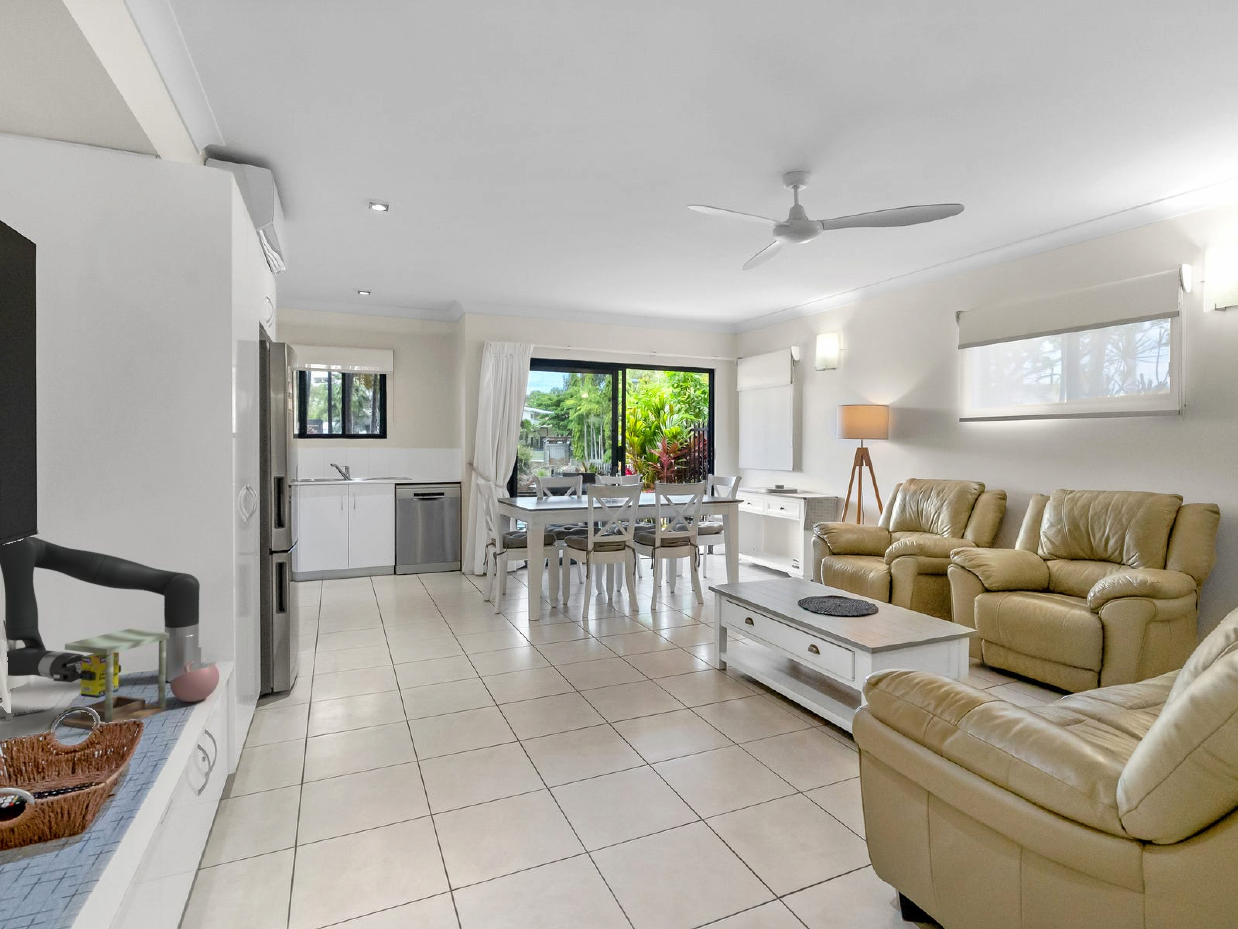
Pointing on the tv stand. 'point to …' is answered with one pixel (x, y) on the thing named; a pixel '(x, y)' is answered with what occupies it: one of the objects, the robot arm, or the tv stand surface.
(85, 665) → the supplement box
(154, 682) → the tv stand surface
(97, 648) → the small green table
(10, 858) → the tv stand surface
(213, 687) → the mortar and pestle
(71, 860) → the tv stand surface
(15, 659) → the robot arm
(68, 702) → the tv stand surface
